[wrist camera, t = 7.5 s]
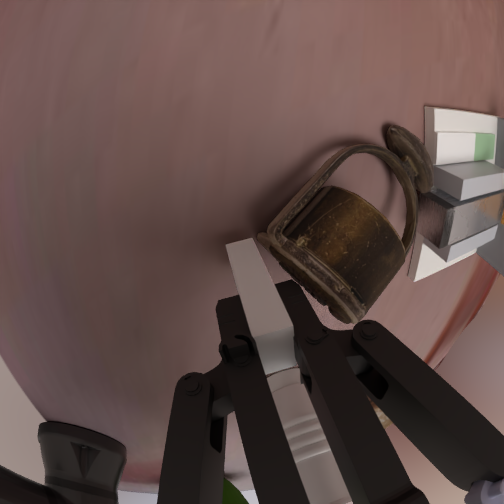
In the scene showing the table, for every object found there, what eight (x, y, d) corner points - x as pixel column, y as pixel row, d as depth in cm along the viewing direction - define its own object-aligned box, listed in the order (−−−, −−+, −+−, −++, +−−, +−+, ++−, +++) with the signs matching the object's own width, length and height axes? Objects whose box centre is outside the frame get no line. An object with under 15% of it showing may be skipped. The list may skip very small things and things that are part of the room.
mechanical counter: (229, 191, 9) (303, 378, 13) (481, 119, 8) (488, 287, 12) (232, 172, 16) (283, 306, 20) (407, 120, 15) (429, 246, 19)
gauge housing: (407, 275, 22) (468, 342, 15) (424, 106, 14) (533, 141, 7) (478, 243, 24) (529, 287, 16) (497, 116, 15) (568, 146, 8)
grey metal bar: (414, 229, 18) (470, 276, 13) (422, 154, 15) (494, 188, 10) (480, 208, 19) (526, 239, 14) (489, 150, 16) (541, 176, 10)
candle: (244, 381, 25) (286, 522, 12) (311, 356, 25) (373, 491, 13) (262, 405, 29) (298, 517, 16) (318, 384, 29) (366, 492, 16)
